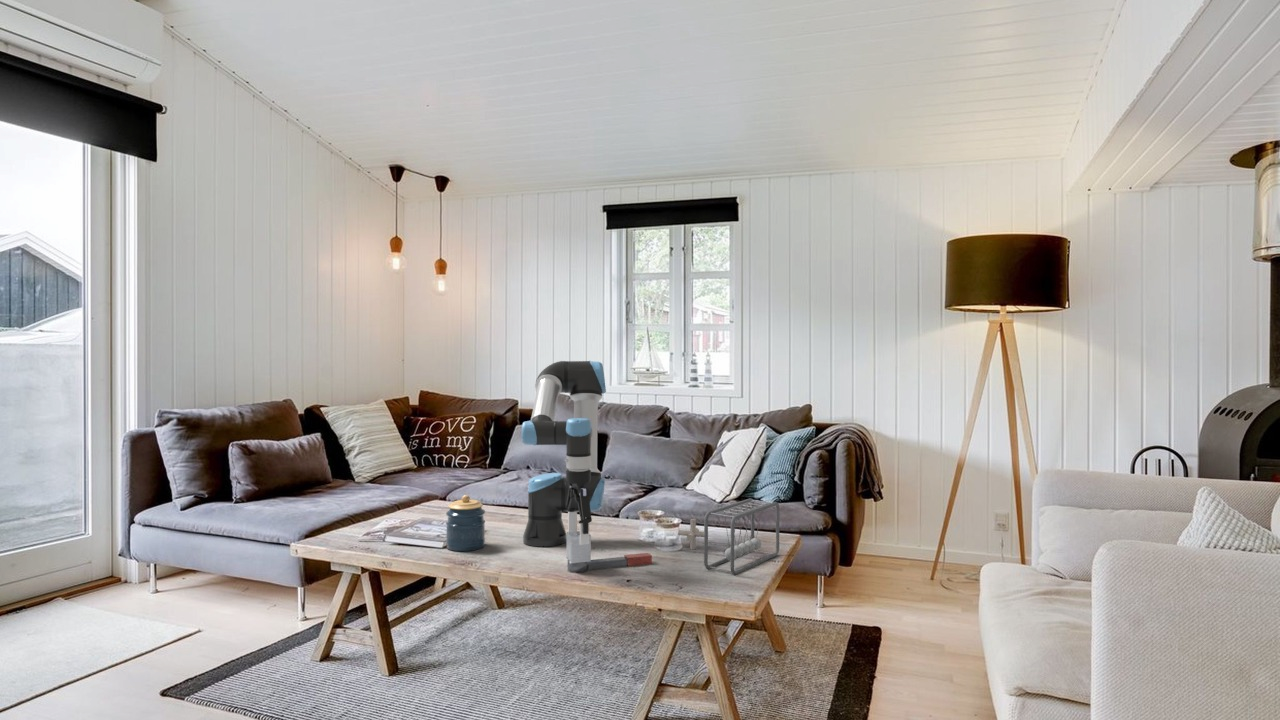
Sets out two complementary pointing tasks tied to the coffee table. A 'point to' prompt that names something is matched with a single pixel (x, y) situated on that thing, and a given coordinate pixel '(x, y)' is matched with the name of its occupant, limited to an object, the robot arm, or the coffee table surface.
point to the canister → (465, 525)
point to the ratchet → (611, 562)
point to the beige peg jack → (692, 533)
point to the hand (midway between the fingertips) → (578, 538)
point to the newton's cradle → (743, 547)
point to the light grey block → (577, 548)
